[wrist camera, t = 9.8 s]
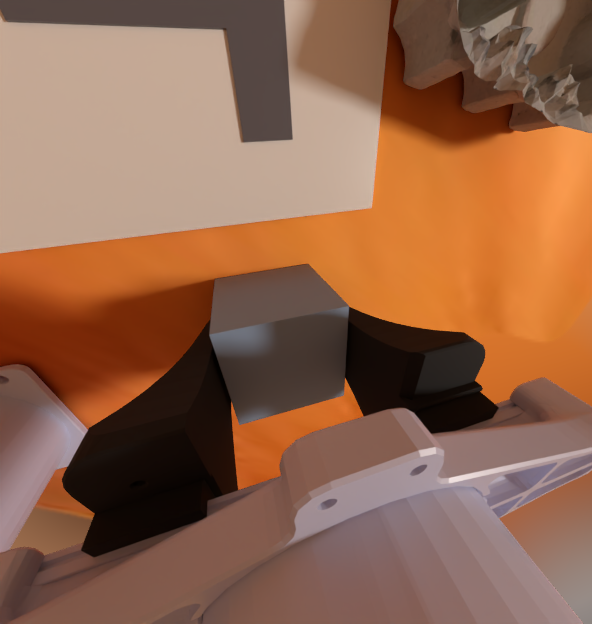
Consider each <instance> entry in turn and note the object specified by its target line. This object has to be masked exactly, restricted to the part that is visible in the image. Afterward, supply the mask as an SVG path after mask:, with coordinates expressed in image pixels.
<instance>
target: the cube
mask: <svg viewBox="0 0 592 624" xmlns="http://www.w3.org/2000/svg"><path fill="white" fill-rule="evenodd" d="M348 315H349V305H348V304H347V303H346V302H345V301H344V300H343V299H342V298H341V297H340V296H339V295H338V294H337V293H336V292H335V291H334V290H333V289H332V288H331V287H330V286H329V285H328V284H327V283H326V282H325V281H324V280H323V279H322V278H321V277H320V276H319V275H318V274H317V273H316V271H315V270H314V269H313V268H312V267H311V266H310V265H309V264H303V265H297V266H291V267H285V268H279V269H273V270H267V271H260V272H254V273H248V274H242V275H236V276H230V277H224V278H217V279H215V282H214V292H213V302H212V312H211V322H210V332H209V336H210V339H211V342H212V345H213V348H214V350H215V353H216V356H217V359H218V362H219V365H220V368H221V371H222V374H223V377H224V380H225V383H226V386H227V389H228V392H229V395H230V398H231V401H232V404H233V407H234V410H235V413H236V416H237V419H238V422H239V425H241V424H245V423H248V422H252V421H255V420H259V419H262V418H266V417H269V416H273V415H276V414H280V413H283V412H287V411H290V410H294V409H297V408H301V407H304V406H308V405H311V404H315V403H319V402H322V401H326V400H329V399H333V398H336V397H340V396H343V395H344V384H345V367H346V349H347V332H348Z"/></svg>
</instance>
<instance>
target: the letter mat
mask: <svg viewBox="0 0 592 624" xmlns="http://www.w3.org/2000/svg"><path fill="white" fill-rule="evenodd" d="M390 8H391V0H0V253H5V252H13V251H22V250H30V249H38V248H46V247H55V246H63V245H71V244H79V243H87V242H96V241H104V240H112V239H120V238H129V237H137V236H145V235H153V234H162V233H170V232H178V231H186V230H195V229H203V228H211V227H219V226H227V225H236V224H244V223H252V222H260V221H269V220H277V219H285V218H293V217H302V216H310V215H318V214H326V213H334V212H343V211H351V210H359V209H367V208H372V200H373V190H374V179H375V168H376V158H377V147H378V136H379V126H380V115H381V104H382V94H383V83H384V72H385V62H386V51H387V40H388V30H389V19H390Z"/></svg>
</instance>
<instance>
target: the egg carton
mask: <svg viewBox="0 0 592 624" xmlns="http://www.w3.org/2000/svg"><path fill="white" fill-rule="evenodd" d="M393 27H394V29H395V30H396V32H397V34H398V35H399V37H400V39H401V42H402V46H403V48H404V52H405V72H404V78H403V82H404V83H405V84H406V85H408V86H410V87H413V88H416V89H419V90H421V89H425V88H427V87H429V86H431V85H434V84H436V83H438V82H440V81H442V80H444V79H446V78H448V77H451V76H454V75H456V74H457V73H459V72H460V71H462V73H463V77H464V96H463V102H462V106H461V107H462V108H464V110H465V111H470V112H471V113H478V112H483V111H486V110H490V109H494V108H498V107H501V106H504V105H507V104H513V111H512V115H511V119H510V121H509V128H511V129H513V130H514V131H522V132H527V131H532V130H537V129H543V128H549V127H555V126H564V127H568V128H573V129H577V130H581V131H584V132H588V133H592V0H399V2H398V6H397V10H396V14H395V16H394V24H393Z"/></svg>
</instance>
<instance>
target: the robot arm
mask: <svg viewBox="0 0 592 624" xmlns="http://www.w3.org/2000/svg"><path fill="white" fill-rule="evenodd" d="M210 322H211V320H209V322H208V323H207V324H206V326H205V327H204V329H203V330H202V332H201V333H200V335H199V336H198V338H197V339H196V340H195V342H194V343H193V344H192V346H191V347H190V348H189V349H188V351H187V352H186V353H185V354H184V355H183V357H182V358H181V359H180V360H179V361H178V362H177V363H176V364H175V365H174V366H173V367H172V368H171V369H170V370H169V371H168V372H167V373H166V374H165V375H164V376H162V377H161V378H160V379H159V380H158V381H156V382H155V383H154V384H153V385H152V386H151V387H149V388H148V389H147V390H146V391H144V392H143V393H142V394H140V395H139V396H138V397H136V398H135V399H133V400H132V401H131V402H129V403H128V404H126V405H125V406H123V407H122V408H120V409H119V410H117V411H116V412H114V413H113V414H111V415H109V416H108V417H106V418H105V419H103V420H102V421H100V422H98V423H97V424H95V425H93V426H92V427H90V428H89V429H87V428H86V427H85V426H84V425H83V424H82V423H81V422H80V421H79V420H78V419H77V418H76V417H75V415H74V414H73V413H72V412H71V411H70V410H69V409H68V408H67V407H66V406H65V405H64V404H63V403H62V402H61V401H60V399H59V398H58V397H57V396H56V395H55V394H54V393H53V392H52V391H51V390H50V389H49V388H48V387H47V386H46V385H45V383H44V382H43V381H42V380H41V379H40V378H39V377H38V376H37V375H36V374H35V373H34V372H33V371H32V370H31V369H30V368H29V367H27V366H24V365H19V364H14V365H8V366H3V367H0V624H583V622H582V621H581V620H580V619H579V617H578V616H577V615H576V614H575V613H574V612H573V610H572V609H571V608H570V606H569V605H568V604H567V603H566V601H565V600H564V599H563V598H562V596H561V595H560V594H559V593H558V592H557V590H556V589H555V588H554V586H553V585H552V584H551V583H550V581H549V580H548V579H547V578H546V576H545V575H544V574H543V573H542V572H541V570H540V569H539V568H538V567H537V565H536V564H535V563H534V562H533V560H532V559H531V558H530V557H529V555H528V554H527V553H526V552H525V551H524V549H523V548H522V547H521V545H520V544H519V543H518V542H517V540H516V539H515V538H514V537H513V536H512V534H511V533H510V532H509V531H508V529H507V528H506V527H505V525H504V524H503V523H502V522H501V520H500V519H499V518H501V517H502V516H504V515H506V514H508V513H510V512H512V511H514V510H516V509H518V508H519V507H521V506H523V505H525V504H527V503H529V502H531V501H533V500H535V499H536V498H538V497H540V496H542V495H544V494H546V493H548V492H550V491H552V490H554V489H556V488H558V487H560V486H562V485H564V484H566V483H568V482H570V481H573V480H575V479H576V478H579V477H581V476H583V475H585V474H587V473H589V472H590V471H591V470H592V407H591V406H590V405H588V404H586V403H585V402H583V401H582V400H580V399H578V398H577V397H575V396H574V395H572V394H570V393H569V392H567V391H566V390H564V389H562V388H561V387H559V386H558V385H556V384H554V383H553V382H551V381H549V380H548V379H546V378H538V379H535V380H532V381H529V382H526V383H523V384H521V385H519V386H518V387H517V388H515V390H514V391H513V392H512V394H511V396H510V399H509V400H506V401H503V402H500V403H497V404H494V403H493V402H492V401H490V400H489V399H488V398H487V397H486V396H484V395H483V394H482V393H481V392H480V391H481V390H482V389H483V388H482V386H481V385H479V384H478V383H477V382H476V381H475V379H476V376H477V374H478V372H479V370H480V368H481V366H482V364H483V362H484V358H485V349H484V347H483V345H482V344H480V343H479V342H477V341H476V340H474V339H473V338H471V337H470V336H468V335H467V334H465V333H463V332H450V331H437V330H429V329H422V328H416V327H410V326H405V325H401V324H396V323H392V322H389V321H385V320H382V319H379V318H376V317H373V316H370V315H367V314H365V313H362V312H360V311H357V310H355V309H353V308H351V307H349V315H348V332H347V349H346V367H345V378H346V380H347V382H348V384H349V386H350V388H351V390H352V392H353V394H354V396H355V398H356V400H357V402H358V405H359V407H360V409H361V411H362V413H363V416H364V417H361V418H358V419H354V420H351V421H348V422H345V423H341V424H338V425H335V426H332V427H328V428H325V429H322V430H319V431H315V432H312V433H310V434H308V435H306V436H304V437H302V438H300V439H298V440H296V441H295V442H294V443H293V444H292V445H291V446H290V447H288V448H287V449H286V450H285V452H284V453H283V455H282V458H281V462H280V472H281V476H280V477H277V478H274V479H271V480H268V481H265V482H262V483H259V484H256V485H253V486H250V487H247V488H244V489H241V490H238V486H237V476H236V466H235V455H234V443H233V431H232V417H231V398H230V395H229V392H228V389H227V386H226V383H225V380H224V377H223V374H222V371H221V368H220V365H219V362H218V359H217V356H216V353H215V350H214V348H213V345H212V342H211V339H210V336H209V332H210ZM3 376H4V377H3ZM67 466H68V467H67ZM63 467H67V469H66V471H65V473H64V476H63V478H62V482H63V487H64V489H65V490H66V491H67V492H68V493H69V494H70V495H71V496H72V497H73V498H74V499H76V500H77V501H78V502H80V503H81V504H83V505H84V506H85V507H87V508H88V509H89V510H91V511H92V512H93V513H95V515H94V517H93V520H92V523H91V526H90V528H89V530H88V533H87V536H86V538H85V541H84V542H83V543H80V544H77V545H74V546H71V547H69V548H66V549H63V550H59V551H56V552H53V553H51V554H48V555H45V556H44V555H43V553H42V552H40V551H38V550H37V549H35V548H30V547H20V548H15V549H11V550H9V549H10V547H11V545H12V544H13V542H14V541H15V539H16V537H17V536H18V534H19V532H20V530H21V529H22V527H23V525H24V524H25V522H26V520H27V518H28V517H29V515H30V513H31V511H32V510H33V508H34V506H35V505H36V503H37V501H38V499H39V498H40V496H41V494H42V493H43V491H44V489H45V487H46V486H47V484H48V482H49V480H50V479H51V477H52V475H53V474H54V472H55V470H56V469H60V468H63Z"/></svg>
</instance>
